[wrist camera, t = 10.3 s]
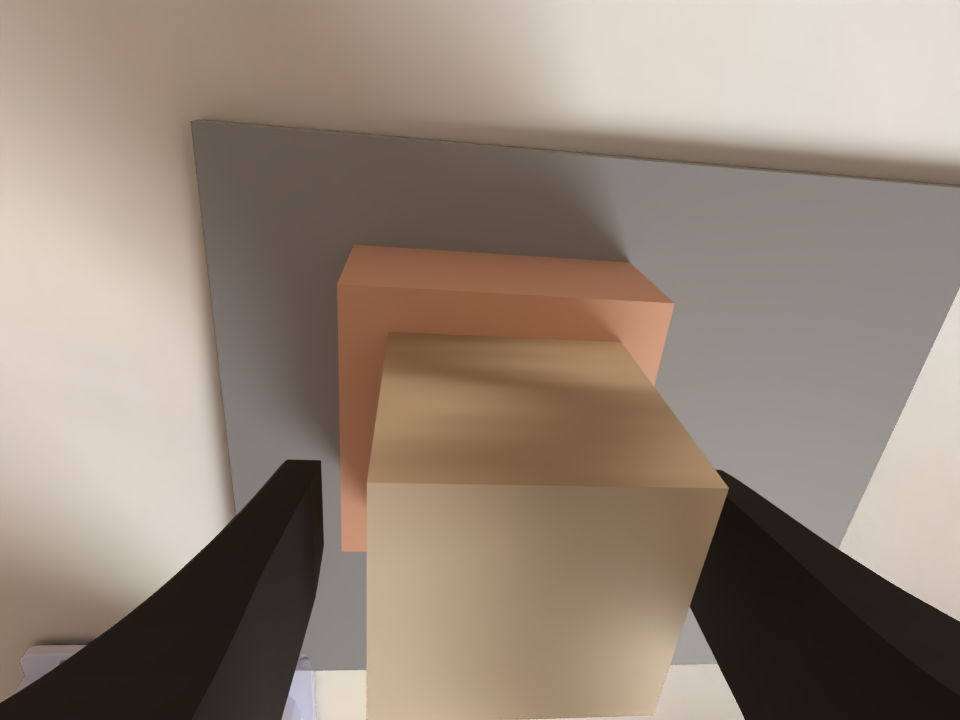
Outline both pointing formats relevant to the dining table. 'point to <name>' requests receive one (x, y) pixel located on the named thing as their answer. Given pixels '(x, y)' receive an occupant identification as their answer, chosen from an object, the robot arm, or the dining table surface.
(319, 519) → the robot arm
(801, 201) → the build board
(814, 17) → the dining table surface
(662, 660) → the beech cube
